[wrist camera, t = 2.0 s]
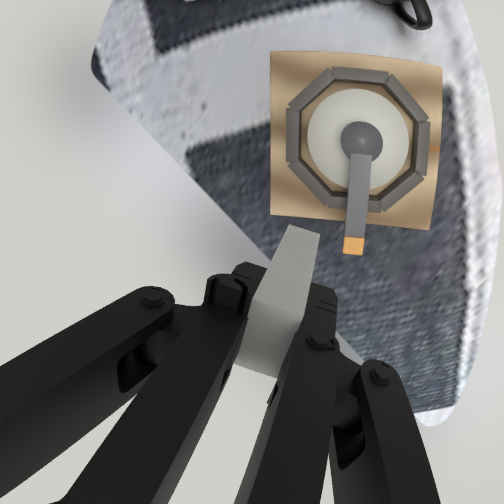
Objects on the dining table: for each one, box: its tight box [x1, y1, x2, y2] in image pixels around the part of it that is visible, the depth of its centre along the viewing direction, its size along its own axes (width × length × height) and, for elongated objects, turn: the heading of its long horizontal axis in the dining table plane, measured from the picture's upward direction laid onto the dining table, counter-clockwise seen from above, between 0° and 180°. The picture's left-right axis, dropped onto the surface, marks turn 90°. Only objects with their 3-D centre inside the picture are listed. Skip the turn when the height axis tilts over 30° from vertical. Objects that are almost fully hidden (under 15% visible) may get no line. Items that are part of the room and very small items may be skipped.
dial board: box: [270, 51, 442, 230], centre depth 29 cm, size 18×18×4 cm
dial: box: [307, 89, 409, 255], centre depth 27 cm, size 15×10×6 cm, turn 1°
